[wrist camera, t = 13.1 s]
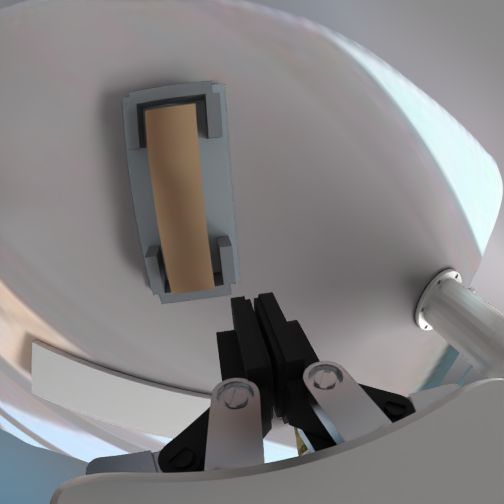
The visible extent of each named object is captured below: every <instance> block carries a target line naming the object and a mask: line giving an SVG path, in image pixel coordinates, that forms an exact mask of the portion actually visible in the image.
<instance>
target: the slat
mask: <svg viewBox="0 0 504 504" xmlns="http://www.w3.org/2000/svg"><path fill="white" fill-rule="evenodd" d="M145 122H146V135H147V146H148V156H149V165H150V173H151V181H152V189H153V196H154V203H155V210H156V216H157V222H158V228H159V234H160V239H161V245H162V250H163V255H164V260H165V265H166V270H167V275H168V280H169V284H170V289H171V293H172V294H180V293H188V292H195V291H202V290H209V289H215V285H214V278H213V271H212V264H211V256H210V249H209V241H208V233H207V224H206V216H205V207H204V198H203V188H202V178H201V168H200V157H199V145H198V133H197V120H196V105H195V104H186V105H178V106H171V107H164V108H158V109H152V110H146V111H145Z"/></svg>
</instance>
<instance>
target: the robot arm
mask: <svg viewBox="0 0 504 504" xmlns="http://www.w3.org/2000/svg"><path fill="white" fill-rule="evenodd" d="M231 307H232V316H233V324H234V330H231V331H224V332H216V334H217V343H218V352H219V360H220V368H221V376H222V382H220V383H219V384H218V385H216V387H215V388H214V389H213V392H212V395H211V404H210V407H209V408H208V409H207V410H206V411H205V412H204V413H202V414H201V415H200V416H199V417H198V418H197V419H196V420H195V421H194V422H192V423H191V424H190V425H189V426H188V427H187V428H186V429H184V430H183V431H182V432H181V433H180V434H179V435H177V436H176V437H175V438H174V439H173V440H172V441H170V442H169V443H168V444H167V445H166V446H164V448H163V449H162V450H161V451H158V452H153V453H152V452H151V450H149V451H144V452H138V453H132V454H125V455H117V456H109V457H100V458H96V459H94V460H92V461H91V462H90V463H89V464H88V466H87V468H86V475H85V476H81V477H77V478H74V479H71V480H68V481H66V482H64V483H62V484H61V485H60V486H59V487H58V488H57V489H56V490H55V492H54V494H53V496H52V498H51V500H50V504H504V379H502V378H495V377H502V376H504V315H503V314H502V313H501V312H499V311H498V310H497V309H495V308H494V307H493V306H491V305H490V304H489V303H487V302H486V301H484V300H483V299H482V298H480V297H479V296H478V295H476V294H475V293H474V288H472V287H471V288H469V289H468V288H466V287H465V286H463V285H462V278H461V275H460V274H459V272H457V271H456V270H454V269H447V270H444V271H442V272H441V273H439V274H438V275H437V276H436V277H435V278H434V279H433V280H432V281H431V282H430V283H429V285H428V286H427V288H426V289H425V291H424V292H423V294H422V296H421V298H420V300H419V303H418V306H417V309H416V315H415V320H416V323H417V325H418V326H419V327H420V328H421V329H422V330H431V329H434V330H435V331H437V332H438V333H439V334H440V335H441V336H442V337H443V338H444V339H445V340H446V341H447V342H448V343H449V344H450V345H452V346H453V347H454V348H455V349H456V350H457V351H458V352H459V353H460V354H461V355H462V356H463V357H464V358H465V359H466V360H467V361H468V362H469V363H470V364H471V365H472V366H473V367H474V368H475V369H476V370H477V371H478V372H479V373H480V374H482V375H483V376H485V377H489V378H490V379H485V380H480V381H477V382H474V383H471V384H468V385H466V386H464V387H460V386H459V385H456V384H446V385H443V386H440V387H436V388H432V389H428V390H424V391H420V392H416V393H412V394H409V396H408V397H404V396H402V395H399V394H395V393H391V392H387V391H383V390H380V389H376V388H372V387H369V386H365V385H362V384H358V383H357V382H356V381H355V380H354V379H353V378H352V377H351V375H350V374H349V373H348V372H347V371H346V370H345V369H344V368H343V367H342V366H341V365H339V364H337V363H335V362H330V361H319V359H318V357H317V355H316V353H315V352H314V350H313V348H312V346H311V344H310V342H309V341H308V339H307V337H306V335H305V333H304V331H303V330H302V328H301V326H300V324H299V322H298V321H297V320H294V321H288V322H287V321H286V319H285V317H284V315H283V313H282V311H281V309H280V307H279V305H278V303H277V301H276V299H275V297H274V294H273V293H272V292H271V293H264V294H259V295H258V298H254V309H253V306H252V303H251V300H250V299H247V300H245V297H244V296H243V297H235V298H231ZM273 407H274V410H275V413H276V416H277V418H278V417H282V418H283V421H284V424H286V423H289V425H291V426H294V427H296V428H298V429H297V430H298V432H299V435H300V436H301V438H302V440H303V441H304V443H305V445H306V446H307V448H308V450H309V451H310V453H309V454H305V455H301V456H298V457H293V458H289V459H285V460H280V461H275V462H270V463H265V464H264V448H263V438H264V437H265V436H266V435H267V433H268V432H269V431H270V430H271V419H273Z"/></svg>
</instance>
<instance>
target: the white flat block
mask: <svg viewBox="0 0 504 504" xmlns="http://www.w3.org/2000/svg"><path fill="white" fill-rule="evenodd" d="M31 375H32V393H33V394H35V395H37V396H39V397H41V398H43V399H46V400H48V401H50V402H52V403H55V404H57V405H59V406H62V407H64V408H67V409H69V410H72V411H74V412H77V413H80V414H82V415H85V416H88V417H91V418H94V419H97V420H100V421H103V422H106V423H110V424H113V425H116V426H120V427H124V428H127V429H131V430H135V431H139V432H144V433H148V434H153V435H157V436H162V437H168V438H173V439H174V438H175V437H176V436H177V435H179V434H180V433H181V432H182V431H183V430H184V429H186V428H187V427H188V426H189V425H190V424H191V423H192V422H194V421H195V420H196V419H197V418H198V417H199V416H200V415H201V414H202V413H204V412H205V411H206V410H207V409H208V408H209V407H210V404H211V395H207V394H202V393H197V392H192V391H187V390H182V389H178V388H173V387H169V386H165V385H161V384H157V383H153V382H149V381H146V380H142V379H139V378H135V377H132V376H129V375H125V374H122V373H119V372H116V371H113V370H110V369H107V368H104V367H101V366H98V365H96V364H93V363H90V362H87V361H85V360H82V359H80V358H77V357H75V356H72V355H70V354H67V353H65V352H63V351H60V350H58V349H56V348H53V347H51V346H49V345H47V344H45V343H42V342H40V341H38V340H35V341H34V342H32V366H31Z"/></svg>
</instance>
